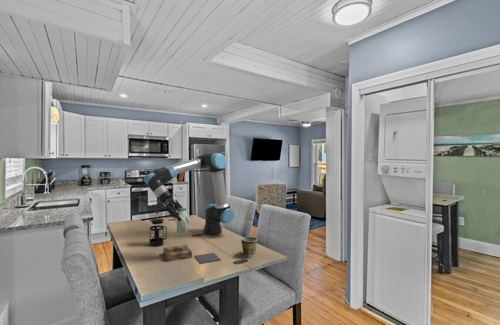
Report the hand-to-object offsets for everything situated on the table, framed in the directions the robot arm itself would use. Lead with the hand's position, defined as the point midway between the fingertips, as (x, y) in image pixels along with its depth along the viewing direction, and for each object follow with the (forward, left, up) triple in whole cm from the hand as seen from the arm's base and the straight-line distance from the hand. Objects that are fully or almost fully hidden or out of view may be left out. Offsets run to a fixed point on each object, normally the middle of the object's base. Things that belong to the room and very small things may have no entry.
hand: (187, 223), depth 150 cm
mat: (-11, +7, -20) cm, 24 cm away
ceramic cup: (-36, +11, -20) cm, 42 cm away
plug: (+3, -3, -5) cm, 7 cm away
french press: (+12, -32, -20) cm, 40 cm away
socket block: (+4, -5, -20) cm, 21 cm away
